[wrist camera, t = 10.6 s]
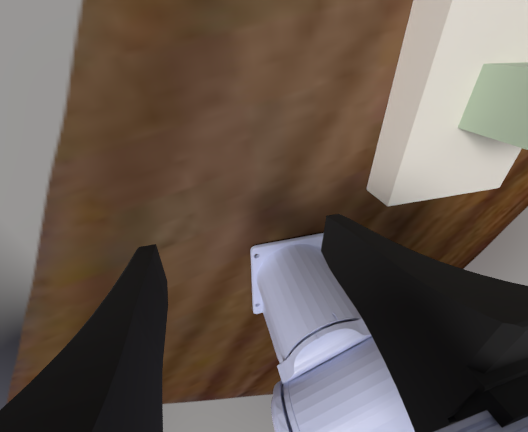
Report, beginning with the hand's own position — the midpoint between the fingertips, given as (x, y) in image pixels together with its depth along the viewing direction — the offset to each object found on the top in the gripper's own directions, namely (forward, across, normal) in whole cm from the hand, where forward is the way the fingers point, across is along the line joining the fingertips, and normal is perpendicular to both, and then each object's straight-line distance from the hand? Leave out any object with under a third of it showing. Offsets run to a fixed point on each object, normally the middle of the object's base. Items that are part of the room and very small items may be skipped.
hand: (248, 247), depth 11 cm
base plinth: (+9, -19, -4) cm, 22 cm away
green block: (+6, -19, -4) cm, 20 cm away
